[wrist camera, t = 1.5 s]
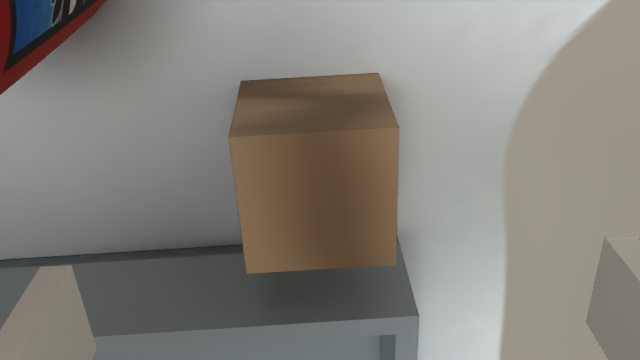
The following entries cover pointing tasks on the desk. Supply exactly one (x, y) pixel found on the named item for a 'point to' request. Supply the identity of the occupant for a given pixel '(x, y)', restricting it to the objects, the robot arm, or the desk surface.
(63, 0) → the beverage can
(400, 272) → the tote
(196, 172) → the desk surface
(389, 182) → the walnut cube
